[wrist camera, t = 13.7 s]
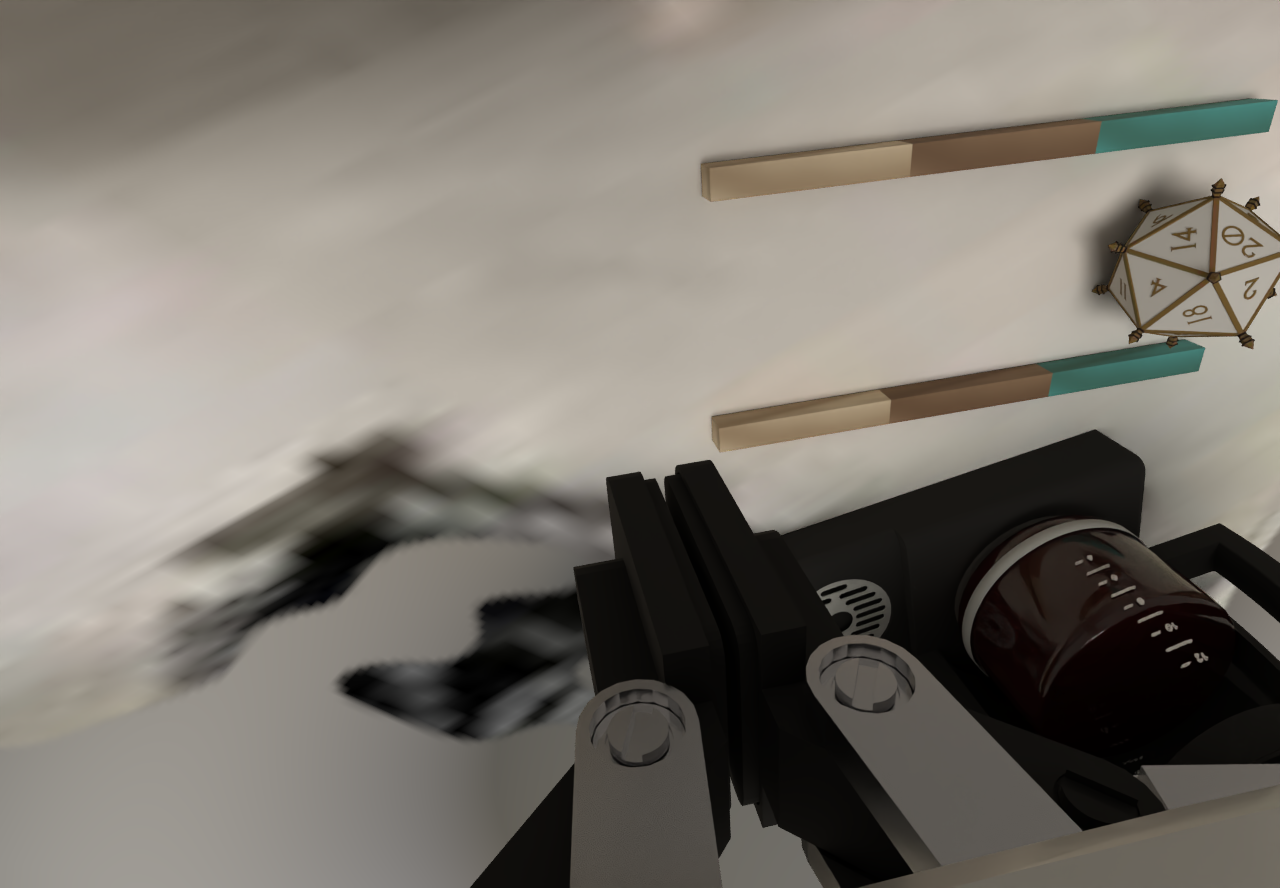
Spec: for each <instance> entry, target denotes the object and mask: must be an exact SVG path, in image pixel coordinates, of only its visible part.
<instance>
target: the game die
mask: <svg viewBox="0 0 1280 888" xmlns="http://www.w3.org/2000/svg"><path fill="white" fill-rule="evenodd" d="M1212 187H1213V188H1212V189H1211V191H1212V196H1208V197H1204V198H1200V199H1196V200H1191V201H1187V202H1183V203H1179V204H1175V205H1170V206H1166V207H1162V208H1158V209H1152V208H1151V205H1152V204H1150V203H1149V201H1145V200H1141V199H1140V202H1139V207H1138V208H1141V211H1143V212H1145V213H1146V214H1145V216H1144V217H1143V219H1142V220H1141V222H1140V223H1139V225H1138V226H1137V228H1136V229H1135V231H1134V232H1133V234H1132V235H1131V237H1130V238H1129V240H1128V241H1127V243H1126V244H1125V246H1123V244H1122V243H1120V244H1119V243H1118V242H1117V241H1116V242H1115V243H1113V244H1110V245H1108V246H1109V248H1110V250H1111V252H1115V253H1120V256H1119V258H1118V261H1117V263H1116V266H1115V269H1114V271H1113V274H1112V276H1111V279H1110V281H1109V284H1108V285H1107V286H1106V285H1101V286H1099V285H1097V287H1096V288H1095V289H1094V290H1093V291H1092V292H1094V293H1097V294H1098V295H1100V294H1102V293H1103V294H1105V292H1107V291H1110V293H1111V294H1112V295H1113V297H1114V298H1115V299H1116V301H1117V302H1118V303H1119V305H1120V306H1121V307H1122V309H1123V310H1124V311H1125V313H1126V314H1127V315H1128V317H1129V318H1130V319H1131V321H1132V322H1133V323H1134V325H1135V326H1136V327H1137V330H1135V331H1132V333H1131V334H1130V335H1128V336H1129V344H1130V343H1133V342H1138V341H1139V338H1141V337H1142V333H1150V334H1156V335H1163V336H1170V337H1169V338H1168V339H1167V342H1166V344H1167V345H1168V347H1169V348H1170V349H1171V348H1172V347H1174V346H1175V345H1178V343H1177V341H1179V340H1178V338H1177V337H1220V336H1238V337H1239V339H1240V341H1239V343H1240V342H1241V343H1242V346H1245V347H1248V348H1251V349H1253V346H1254V341H1255V340H1254V339H1252V338H1251V337H1252V336H1250V335H1247V334H1246V331H1247V329H1248V328H1249V326H1250V325H1251V323H1252V321H1253V320H1254V318H1255V317H1256V315H1257V313H1258V312H1259V310H1260V309H1261V307H1262V305H1263V304H1264V302H1265V301H1266V299H1267V298H1268V299H1269V298H1271V297H1273V296H1276V295H1277V294H1276V292H1275V288H1274V286H1275V285H1276V283H1277V281H1278V280H1279V278H1280V234H1279V233H1277V232H1276V231H1275V230H1274V229H1273V228H1271V227H1270V226H1269V225H1268V224H1267V223H1266V222H1264V221H1263V220H1262V219H1261V218H1260V217H1258V216H1257V215H1256V214H1255V213H1254V212H1252V210H1253V209H1257V206H1260V203H1259V197H1256V198H1253V199H1252V198H1250V200H1249V201H1248V202H1247V204H1246V205H1245V207H1244V206H1242V205H1239V204H1237V203H1235V202H1233V201H1231V200H1228V199H1226V198H1224V197H1222V196H1221V194H1222V193H1223V192H1224V190H1225V189H1224V188H1225V187H1226V184H1224V182H1223V180H1222V178H1221V179H1220V180H1219V181H1218V182H1216V183H1215V184H1214V185H1212Z"/></svg>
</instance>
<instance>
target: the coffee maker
mask: <svg viewBox="0 0 1280 888" xmlns="http://www.w3.org/2000/svg"><path fill="white" fill-rule="evenodd" d="M1144 481H1145V466H1144V463H1143V461H1142V460H1141V459H1140V457H1138V456H1137V455H1136V454H1134V453H1133V452H1131V451H1129V450H1128V449H1126V448H1124V447H1123V446H1121V445H1120V444H1118V443H1116V442H1115V441H1113V440H1111V439H1110V438H1108V437H1107V436H1105V435H1103V434H1102V433H1100V432H1098V431H1097V430H1094V431H1091V432H1088V433H1085V434H1082V435H1079V436H1076V437H1073V438H1070V439H1067V440H1064V441H1061V442H1058V443H1055V444H1052V445H1049V446H1046V447H1043V448H1040V449H1037V450H1034V451H1031V452H1028V453H1026V454H1023V455H1020V456H1017V457H1014V458H1011V459H1008V460H1005V461H1002V462H999V463H996V464H993V465H990V466H987V467H984V468H981V469H978V470H975V471H972V472H969V473H966V474H963V475H960V476H957V477H955V478H952V479H949V480H946V481H943V482H940V483H937V484H934V485H931V486H928V487H925V488H922V489H919V490H916V491H913V492H910V493H907V494H904V495H901V496H898V497H895V498H892V499H889V500H886V501H884V502H881V503H878V504H875V505H872V506H869V507H866V508H863V509H860V510H857V511H854V512H851V513H848V514H845V515H842V516H839V517H836V518H833V519H830V520H827V521H824V522H821V523H818V524H816V525H813V526H810V527H807V528H804V529H801V530H798V531H795V532H792V533H789V534H786V535H783V536H782V538H783V539H784V541H785V543H786V544H787V546H788V547H789V549H790V551H791V552H792V554H793V555H794V557H795V559H796V560H797V562H798V563H799V565H800V566H801V568H802V570H803V571H804V573H805V574H806V576H807V578H808V579H809V581H810V582H811V584H812V586H813V587H814V589H815V590H816V592H817V594H818V595H819V597H820V598H821V600H822V601H823V603H824V605H825V606H826V608H827V609H828V611H829V613H830V614H831V616H832V617H833V619H834V621H835V622H836V624H837V625H838V627H839V629H840V630H841V632H842V633H843V635H844V636H847V635H869V636H873V637H877V638H881V639H885V640H888V641H890V642H892V643H894V644H896V645H898V646H901V647H903V648H904V649H905V650H906V651H908V652H909V653H910V654H911V655H913V656H914V657H915V658H916V659H917V660H918V661H919V662H920V663H921V664H922V665H923V666H924V667H925V668H926V669H927V670H928V671H929V672H930V673H931V674H932V675H933V676H934V677H935V678H936V679H937V680H938V681H939V682H940V683H941V684H942V686H943V687H944V688H945V689H946V690H947V691H948V692H949V693H950V694H951V695H952V696H953V697H954V698H955V699H956V700H957V701H958V702H959V703H960V704H961V705H962V706H963V707H964V708H967V709H970V710H972V711H975V712H978V713H980V714H983V715H986V716H988V717H991V718H994V719H996V720H999V721H1002V722H1005V723H1007V724H1010V725H1013V726H1015V727H1018V728H1021V729H1023V730H1026V731H1029V732H1032V733H1034V734H1037V735H1040V736H1042V737H1045V738H1048V739H1050V740H1053V741H1056V742H1058V743H1061V744H1064V745H1067V746H1069V747H1072V748H1075V749H1077V750H1080V751H1083V752H1085V753H1088V754H1091V755H1094V756H1096V757H1099V758H1102V759H1104V760H1106V761H1108V762H1110V763H1112V764H1114V765H1116V766H1119V767H1121V768H1123V769H1125V770H1126V771H1128V772H1129V773H1130V774H1132V775H1138V774H1139V771H1140V768H1141V766H1142V765H1228V764H1280V661H1279V660H1278V659H1276V657H1275V656H1274V655H1272V654H1271V653H1270V652H1269V651H1268V650H1267V649H1266V648H1265V647H1264V646H1263V645H1262V644H1261V643H1259V642H1258V641H1257V640H1256V639H1255V638H1254V637H1253V636H1252V635H1251V634H1250V633H1248V632H1247V631H1246V630H1245V629H1244V628H1243V627H1242V626H1240V625H1239V624H1238V623H1237V622H1236V621H1235V620H1233V619H1232V618H1231V617H1230V616H1229V615H1228V613H1227V612H1226V610H1225V609H1223V608H1222V607H1221V606H1220V605H1219V604H1218V603H1217V602H1216V601H1215V600H1214V599H1213V598H1211V597H1210V596H1209V595H1208V594H1207V593H1205V592H1204V591H1203V590H1202V589H1201V588H1199V587H1198V586H1197V585H1196V584H1194V583H1193V582H1192V581H1190V580H1189V579H1191V578H1194V577H1197V576H1200V575H1203V574H1206V573H1208V572H1211V571H1216V572H1217V573H1219V574H1220V575H1221V576H1223V577H1224V578H1226V579H1227V580H1228V581H1230V582H1231V583H1232V584H1234V585H1235V586H1236V587H1237V588H1239V589H1240V590H1241V591H1243V592H1244V593H1245V594H1246V595H1248V596H1249V597H1250V598H1251V599H1252V600H1254V601H1255V602H1256V603H1257V604H1259V605H1260V606H1261V607H1262V608H1263V609H1265V610H1266V611H1267V612H1268V613H1269V614H1270V615H1271V616H1273V617H1274V618H1275V619H1276V620H1277V621H1278V622H1279V623H1280V563H1279V562H1278V561H1276V560H1275V559H1273V558H1272V557H1270V556H1269V555H1268V554H1266V553H1265V552H1264V551H1262V550H1261V549H1259V548H1258V547H1256V546H1255V545H1253V544H1252V543H1250V542H1249V541H1247V540H1246V539H1244V538H1243V537H1241V536H1239V535H1238V534H1236V533H1235V532H1233V531H1231V530H1230V529H1228V528H1227V527H1225V526H1224V525H1222V524H1220V523H1219V524H1216V525H1213V526H1210V527H1207V528H1204V529H1202V530H1199V531H1196V532H1193V533H1190V534H1187V535H1184V536H1181V537H1178V538H1176V539H1173V540H1170V541H1167V542H1164V543H1161V544H1158V545H1155V546H1153V547H1150V548H1147V546H1146V545H1145V544H1144V543H1143V542H1142V541H1141V540H1140V539H1139V533H1140V523H1141V513H1142V502H1143V492H1144Z"/></svg>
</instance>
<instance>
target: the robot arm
mask: <svg viewBox="0 0 1280 888" xmlns="http://www.w3.org/2000/svg"><path fill="white" fill-rule="evenodd" d="M606 485H607V494H608V502H609V510H610V518H611V526H612V534H613V543H614V551H615V559H614V560H609V561H604V562H598V563H593V564H587V565H582V566H577V567H574V575H575V582H576V588H577V595H578V601H579V607H580V614H581V620H582V626H583V632H584V637H585V643H586V649H587V654H588V660H589V665H590V671H591V676H592V681H593V687H594V692H595V697H594V698H593V699H591V700H590V701H589V702H588V703H587V705H586V706H585V708H584V710H583V711H582V713H581V714H580V716H579V720H578V724H577V729H576V742H575V763H574V764H573V766H572V767H571V768H570V769H569V770H568V772H567V773H566V774H565V775H564V776H563V777H562V779H561V780H560V781H559V782H558V783H557V785H556V786H555V787H554V788H553V790H552V791H551V792H550V793H549V794H548V796H547V797H546V798H545V799H544V800H543V801H542V803H541V804H540V805H539V806H538V807H537V808H536V810H535V811H534V812H533V813H532V814H531V816H530V817H529V818H528V819H527V820H526V822H525V823H524V824H523V825H522V826H521V827H520V829H519V830H518V831H517V832H516V833H515V835H514V836H513V837H512V838H511V839H510V841H509V842H508V843H507V844H506V845H505V847H504V848H503V849H502V850H501V851H500V852H499V854H498V855H497V856H496V857H495V858H494V860H493V861H492V862H491V863H490V864H489V866H488V867H487V868H486V869H485V871H484V872H483V873H482V874H481V875H480V876H479V878H478V879H477V880H476V881H475V882H474V883H473V885H472V886H471V887H470V888H722V880H721V874H720V867H719V860H718V859H719V857H720V856H721V854H722V852H723V850H724V849H725V847H726V845H727V843H728V842H729V840H730V838H731V833H730V808H731V792H730V777H731V780H732V783H733V786H734V789H735V792H736V794H737V797H738V800H739V802H740V803H741V805H742V806H744V805H748V804H753V803H754V805H755V808H756V811H757V814H758V816H759V819H760V821H761V824H762V827H763V828H764V827H768V826H773V825H776V824H778V827H780V828H782V829H784V830H786V831H788V832H790V833H792V834H794V835H796V836H798V837H800V838H801V841H802V842H801V843H802V848H803V851H804V853H805V856H806V859H807V861H808V863H809V865H810V866H811V868H812V870H813V871H814V873H815V875H816V876H817V878H818V880H819V882H820V883H821V885H822V887H823V888H1280V764H1228V765H1142V766H1141V768H1140V771H1139V774H1138V775H1132V774H1130V773H1129V772H1128V771H1126V770H1125V769H1123V768H1121V767H1119V766H1116V765H1114V764H1112V763H1110V762H1108V761H1106V760H1104V759H1102V758H1099V757H1096V756H1094V755H1091V754H1088V753H1085V752H1083V751H1080V750H1077V749H1075V748H1072V747H1069V746H1067V745H1064V744H1061V743H1058V742H1056V741H1053V740H1050V739H1048V738H1045V737H1042V736H1040V735H1037V734H1034V733H1032V732H1029V731H1026V730H1023V729H1021V728H1018V727H1015V726H1013V725H1010V724H1007V723H1005V722H1002V721H999V720H996V719H994V718H991V717H988V716H986V715H983V714H980V713H978V712H975V711H972V710H970V709H967V708H964V707H963V706H962V705H961V704H960V703H959V702H958V701H957V700H956V699H955V698H954V697H953V696H952V695H951V694H950V693H949V692H948V691H947V690H946V689H945V688H944V687H943V686H942V684H941V683H940V682H939V681H938V680H937V679H936V678H935V677H934V676H933V675H932V674H931V673H930V672H929V671H928V670H927V669H926V668H925V667H924V666H923V665H922V664H921V663H920V662H919V661H918V660H917V659H916V658H915V657H914V656H913V655H911V654H910V653H909V652H908V651H906V650H905V649H904V648H903V647H901V646H898V645H896V644H894V643H892V642H890V641H888V640H885V639H881V638H877V637H873V636H869V635H847V636H844V635H843V633H842V632H841V630H840V629H839V627H838V625H837V624H836V622H835V621H834V619H833V617H832V616H831V614H830V613H829V611H828V609H827V608H826V606H825V605H824V603H823V601H822V600H821V598H820V597H819V595H818V594H817V592H816V590H815V589H814V587H813V586H812V584H811V582H810V581H809V579H808V578H807V576H806V574H805V573H804V571H803V570H802V568H801V566H800V565H799V563H798V562H797V560H796V559H795V557H794V555H793V554H792V552H791V551H790V549H789V547H788V546H787V544H786V543H785V541H784V539H783V538H782V536H781V535H780V534H779V533H778V532H777V531H775V530H770V531H765V532H760V533H753V532H752V530H751V528H750V527H749V525H748V523H747V521H746V520H745V518H744V516H743V514H742V513H741V511H740V509H739V507H738V506H737V504H736V502H735V500H734V499H733V497H732V495H731V493H730V492H729V490H728V488H727V486H726V485H725V483H724V481H723V480H722V478H721V476H720V474H719V473H718V471H717V469H716V467H715V466H714V464H713V462H712V461H711V460H705V461H699V462H694V463H688V464H682V465H677V466H676V468H675V475H671V476H665V479H664V486H665V499H666V502H665V500H664V497H663V495H662V492H661V490H660V488H659V485H658V483H657V481H656V479H655V478H654V479H648V480H644V478H643V476H642V474H641V472H635V473H629V474H623V475H618V476H612V477H607V478H606Z"/></svg>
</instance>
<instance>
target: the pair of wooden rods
mask: <svg viewBox="0 0 1280 888" xmlns="http://www.w3.org/2000/svg"><path fill="white" fill-rule="evenodd" d="M1277 101H1278V100H1267V99H1243V100H1235V101H1226V102H1218V103H1209V104H1201V105H1193V106H1184V107H1176V108H1167V109H1159V110H1150V111H1142V112H1134V113H1125V114H1117V115H1108V116H1100V117H1092V118H1083V119H1075V120H1066V121H1058V122H1049V123H1041V124H1033V125H1024V126H1016V127H1007V128H999V129H990V130H982V131H974V132H965V133H957V134H948V135H940V136H931V137H923V138H915V139H906V140H898V141H889V142H881V143H873V144H864V145H856V146H847V147H839V148H830V149H822V150H814V151H805V152H797V153H788V154H780V155H771V156H763V157H755V158H746V159H738V160H729V161H721V162H712V163H704V164H701V175H702V196H703V197H704V198H706V199H707V200H709V201H710V202H714V201H722V200H729V199H737V198H745V197H753V196H761V195H769V194H777V193H785V192H793V191H801V190H809V189H817V188H825V187H833V186H841V185H849V184H857V183H865V182H873V181H881V180H889V179H897V178H905V177H913V176H920V175H928V174H936V173H944V172H952V171H960V170H968V169H976V168H984V167H992V166H1000V165H1008V164H1016V163H1024V162H1032V161H1040V160H1048V159H1056V158H1064V157H1072V156H1080V155H1088V154H1096V153H1104V152H1111V151H1119V150H1127V149H1135V148H1143V147H1151V146H1159V145H1167V144H1175V143H1183V142H1191V141H1199V140H1207V139H1215V138H1223V137H1231V136H1239V135H1247V134H1255V133H1263V132H1269V129H1270V125H1271V122H1272V118H1273V115H1274V112H1275V108H1276V105H1277ZM1177 343H1178V345H1175V346H1174V347H1172V348H1171V349H1170V348H1169V347H1168V345H1167V344H1166V342H1165V343H1159V344H1153V345H1147V346H1141V347H1135V348H1129V349H1123V350H1117V351H1111V352H1104V353H1098V354H1092V355H1086V356H1080V357H1074V358H1068V359H1062V360H1056V361H1049V362H1043V363H1037V364H1031V365H1025V366H1019V367H1013V368H1007V369H1001V370H994V371H988V372H982V373H976V374H970V375H964V376H958V377H952V378H946V379H940V380H933V381H927V382H921V383H915V384H909V385H903V386H897V387H891V388H885V389H878V390H872V391H866V392H860V393H854V394H848V395H842V396H836V397H830V398H824V399H817V400H811V401H805V402H799V403H793V404H787V405H781V406H775V407H769V408H762V409H756V410H750V411H744V412H738V413H732V414H726V415H720V416H714V417H712V438H713V442H714V443H715V445H716V447H717V448H718V450H719V452H726V451H732V450H738V449H744V448H749V447H755V446H761V445H767V444H773V443H779V442H785V441H791V440H796V439H802V438H808V437H814V436H820V435H826V434H832V433H838V432H843V431H849V430H855V429H861V428H867V427H873V426H879V425H884V424H890V423H896V422H902V421H908V420H914V419H920V418H926V417H931V416H937V415H943V414H949V413H955V412H961V411H967V410H973V409H978V408H984V407H990V406H996V405H1002V404H1008V403H1014V402H1020V401H1025V400H1031V399H1037V398H1043V397H1049V396H1055V395H1061V394H1066V393H1072V392H1078V391H1084V390H1090V389H1096V388H1102V387H1108V386H1113V385H1119V384H1125V383H1131V382H1137V381H1143V380H1149V379H1155V378H1160V377H1166V376H1172V375H1178V374H1184V373H1190V372H1196V371H1199V367H1200V364H1201V360H1202V357H1203V353H1204V350H1205V348H1204V347H1202V346H1199V345H1197V344H1195V343H1192V342H1190V341H1187V340H1185V339H1184V340H1179V341H1177Z"/></svg>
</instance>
